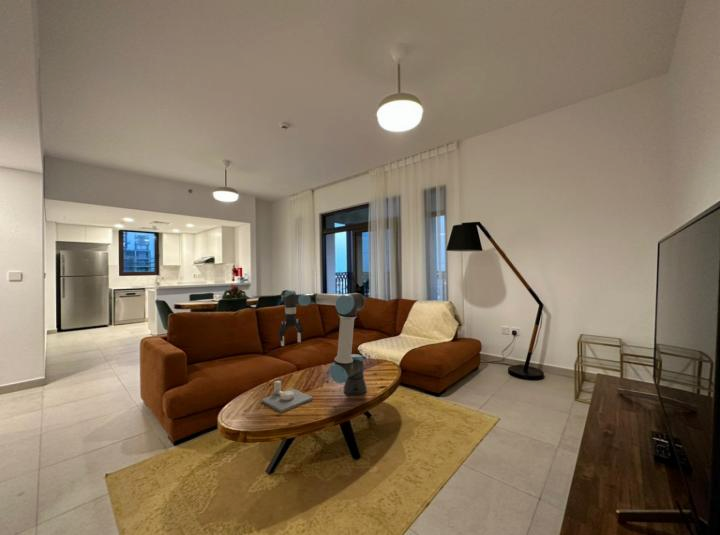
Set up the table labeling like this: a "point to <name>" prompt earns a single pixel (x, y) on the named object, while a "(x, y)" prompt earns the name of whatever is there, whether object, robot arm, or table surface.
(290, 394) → the locking lever
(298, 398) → the lock base
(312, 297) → the robot arm
